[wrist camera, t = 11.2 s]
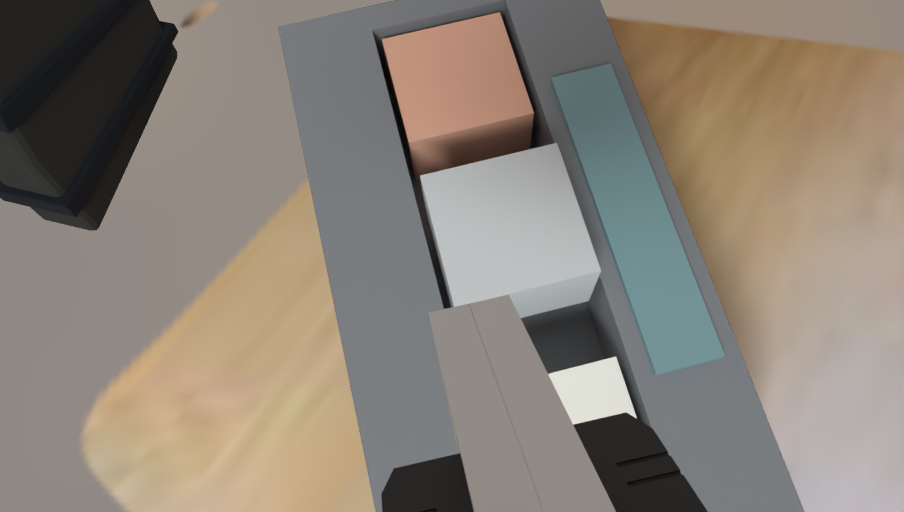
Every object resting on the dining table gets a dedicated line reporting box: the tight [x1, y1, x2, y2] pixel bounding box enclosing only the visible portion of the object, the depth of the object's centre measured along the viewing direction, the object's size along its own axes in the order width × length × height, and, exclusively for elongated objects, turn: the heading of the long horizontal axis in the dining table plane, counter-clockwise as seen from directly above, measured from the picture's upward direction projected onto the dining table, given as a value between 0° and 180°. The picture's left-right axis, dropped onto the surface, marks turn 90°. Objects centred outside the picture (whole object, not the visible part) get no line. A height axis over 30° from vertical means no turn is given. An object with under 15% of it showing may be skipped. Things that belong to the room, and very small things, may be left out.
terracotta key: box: [382, 12, 534, 180], centre depth 32 cm, size 5×5×3 cm
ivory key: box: [548, 357, 637, 425], centre depth 27 cm, size 5×5×3 cm
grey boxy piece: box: [278, 0, 804, 512], centre depth 31 cm, size 23×13×8 cm, turn 14°
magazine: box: [0, 0, 178, 230], centre depth 34 cm, size 4×13×15 cm, turn 165°
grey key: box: [420, 143, 601, 318], centre depth 28 cm, size 5×5×3 cm
